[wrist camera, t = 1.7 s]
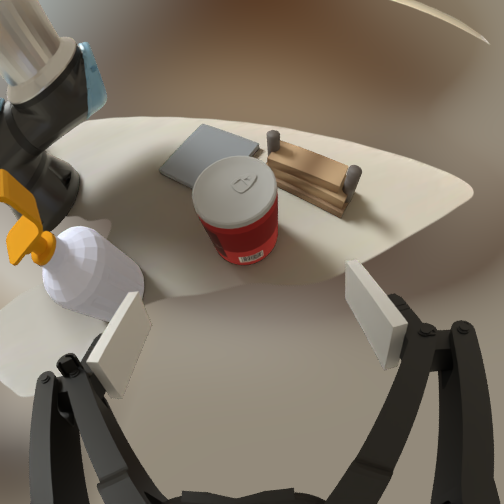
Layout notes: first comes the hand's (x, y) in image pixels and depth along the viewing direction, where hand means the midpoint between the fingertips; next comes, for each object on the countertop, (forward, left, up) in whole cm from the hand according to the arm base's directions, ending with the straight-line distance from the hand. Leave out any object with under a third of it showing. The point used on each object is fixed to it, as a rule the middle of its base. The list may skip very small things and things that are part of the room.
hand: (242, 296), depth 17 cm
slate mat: (-19, +16, -15) cm, 29 cm away
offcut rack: (-4, +19, -15) cm, 25 cm away
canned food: (-7, +8, -15) cm, 19 cm away
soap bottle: (-18, -7, -15) cm, 24 cm away
